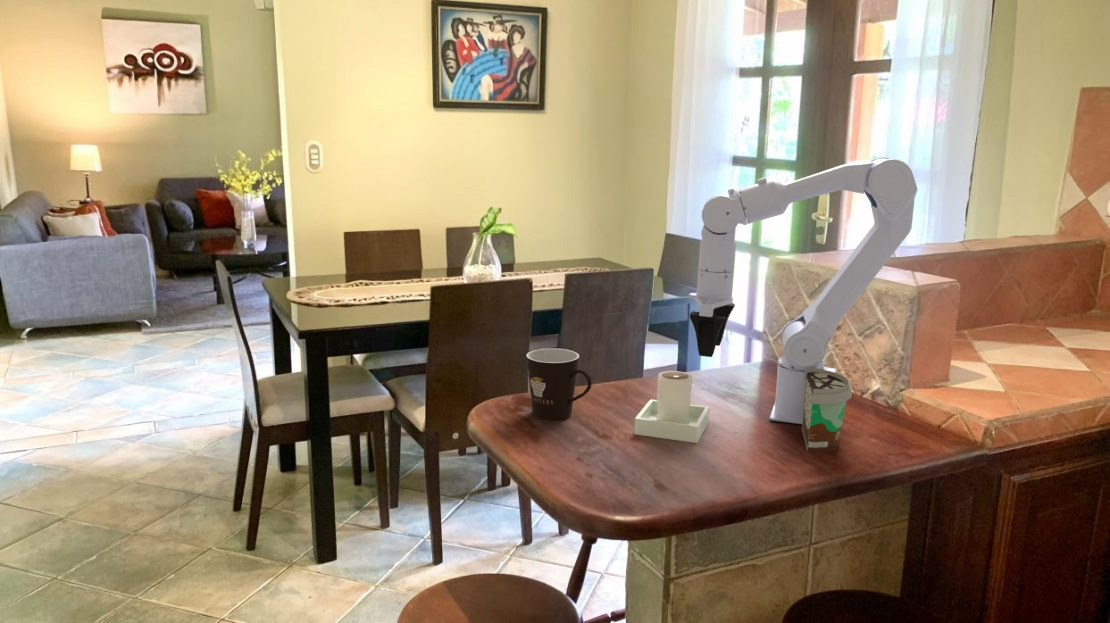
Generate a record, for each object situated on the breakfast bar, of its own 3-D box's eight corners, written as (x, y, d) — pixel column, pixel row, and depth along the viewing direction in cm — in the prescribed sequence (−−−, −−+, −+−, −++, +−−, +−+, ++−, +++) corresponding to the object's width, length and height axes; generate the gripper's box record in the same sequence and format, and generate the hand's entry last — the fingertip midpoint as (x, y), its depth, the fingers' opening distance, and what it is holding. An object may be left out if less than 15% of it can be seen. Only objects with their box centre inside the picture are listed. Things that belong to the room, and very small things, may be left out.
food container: (852, 459, 118) (859, 393, 116) (808, 455, 119) (813, 390, 117) (841, 429, 130) (846, 369, 128) (801, 426, 131) (805, 366, 129)
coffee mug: (518, 408, 138) (518, 351, 136) (565, 402, 141) (566, 346, 139) (545, 432, 128) (545, 370, 125) (594, 424, 131) (596, 364, 129)
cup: (692, 421, 131) (695, 373, 129) (685, 431, 126) (688, 382, 125) (660, 417, 133) (662, 369, 131) (652, 427, 128) (654, 378, 127)
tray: (708, 422, 133) (709, 406, 132) (697, 443, 124) (698, 426, 123) (649, 414, 136) (650, 399, 135) (634, 434, 127) (634, 418, 126)
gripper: (699, 261, 141) (694, 337, 144) (682, 274, 128) (676, 358, 131) (741, 264, 139) (734, 342, 142) (728, 278, 126) (721, 363, 129)
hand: (709, 350), depth 136 cm, fingers open, 7 cm apart
